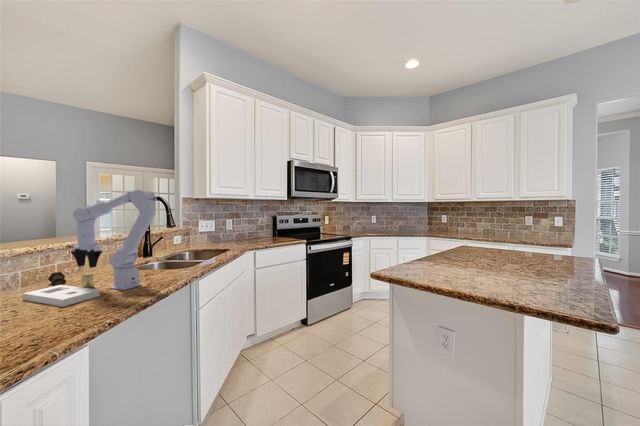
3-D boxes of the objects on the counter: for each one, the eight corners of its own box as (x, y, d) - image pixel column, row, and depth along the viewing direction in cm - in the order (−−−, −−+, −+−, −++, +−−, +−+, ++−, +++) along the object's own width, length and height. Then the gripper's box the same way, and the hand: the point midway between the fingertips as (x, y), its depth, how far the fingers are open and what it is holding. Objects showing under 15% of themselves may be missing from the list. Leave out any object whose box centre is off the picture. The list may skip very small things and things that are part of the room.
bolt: (57, 293, 118) (54, 285, 128) (71, 285, 121) (67, 278, 131) (47, 283, 115) (45, 276, 125) (61, 275, 118) (58, 269, 128)
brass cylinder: (96, 287, 120) (95, 273, 120) (85, 289, 116) (85, 275, 116) (90, 286, 121) (89, 273, 121) (79, 288, 117) (79, 275, 117)
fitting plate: (99, 295, 108) (99, 289, 107) (62, 306, 96) (62, 299, 96) (61, 290, 115) (60, 284, 115) (22, 299, 104) (22, 292, 104)
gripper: (64, 236, 117) (65, 267, 117) (86, 237, 112) (87, 269, 112) (83, 234, 123) (84, 264, 124) (105, 235, 119) (106, 266, 119)
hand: (87, 266), depth 118 cm, fingers open, 7 cm apart
